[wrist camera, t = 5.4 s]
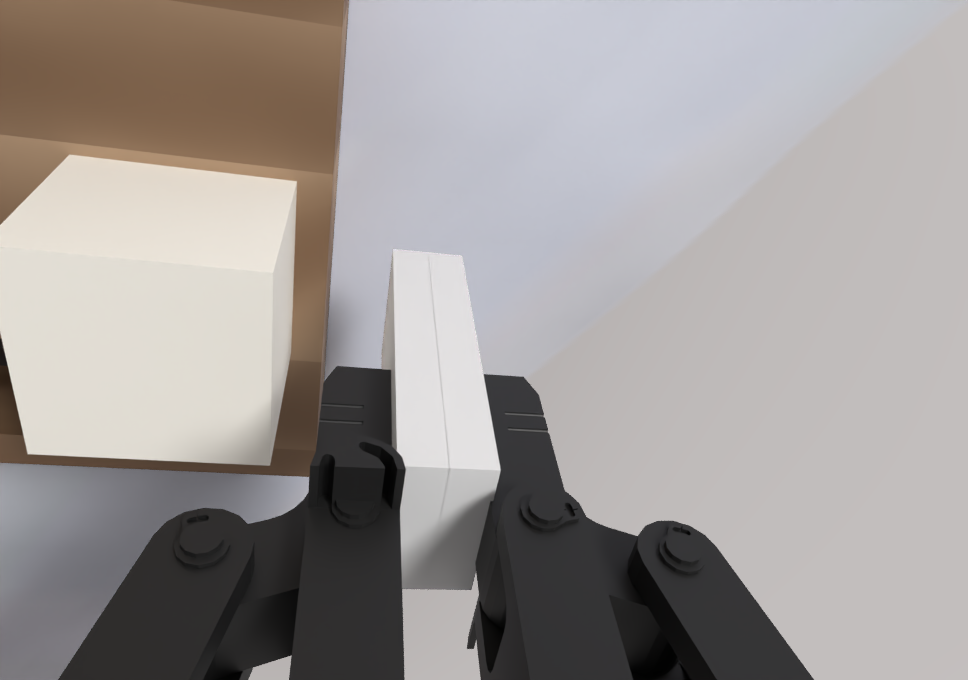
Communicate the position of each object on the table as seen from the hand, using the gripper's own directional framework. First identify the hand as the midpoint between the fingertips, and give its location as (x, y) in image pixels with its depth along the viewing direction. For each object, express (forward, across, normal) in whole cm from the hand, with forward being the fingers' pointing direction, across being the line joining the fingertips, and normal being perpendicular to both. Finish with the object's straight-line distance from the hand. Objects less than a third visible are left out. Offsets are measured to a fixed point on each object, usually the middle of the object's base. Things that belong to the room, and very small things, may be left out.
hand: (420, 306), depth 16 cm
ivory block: (+1, -5, 0) cm, 5 cm away
